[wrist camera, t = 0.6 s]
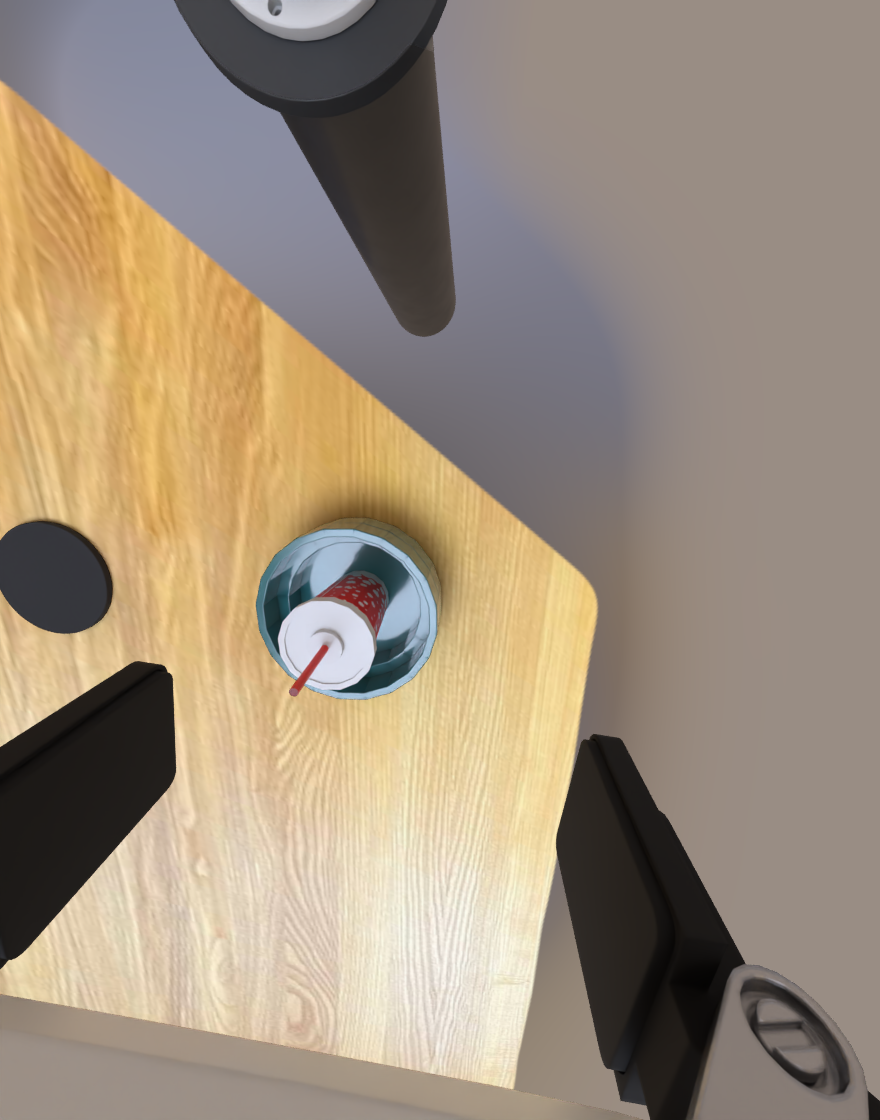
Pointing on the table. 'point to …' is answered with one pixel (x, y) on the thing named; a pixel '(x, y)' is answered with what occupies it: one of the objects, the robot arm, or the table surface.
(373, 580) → the beverage cup
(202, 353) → the table surface
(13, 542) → the coaster
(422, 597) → the bowl
